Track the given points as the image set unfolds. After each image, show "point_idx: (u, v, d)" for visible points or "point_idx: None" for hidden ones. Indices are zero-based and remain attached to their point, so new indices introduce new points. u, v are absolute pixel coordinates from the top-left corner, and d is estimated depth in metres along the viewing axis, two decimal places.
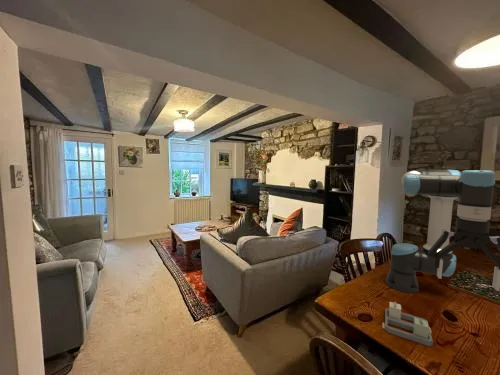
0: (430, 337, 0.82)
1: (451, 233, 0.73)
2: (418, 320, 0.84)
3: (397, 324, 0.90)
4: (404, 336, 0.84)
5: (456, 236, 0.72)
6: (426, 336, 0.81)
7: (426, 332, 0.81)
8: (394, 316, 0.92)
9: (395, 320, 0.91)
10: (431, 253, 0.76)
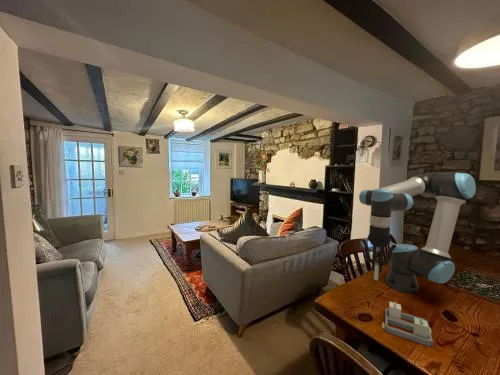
0: (430, 337, 0.82)
1: (366, 239, 0.97)
2: (418, 320, 0.84)
3: (397, 324, 0.90)
4: (404, 336, 0.84)
5: (369, 239, 0.96)
6: (426, 336, 0.81)
7: (426, 332, 0.81)
8: (394, 316, 0.92)
9: (395, 320, 0.91)
10: (368, 260, 0.96)
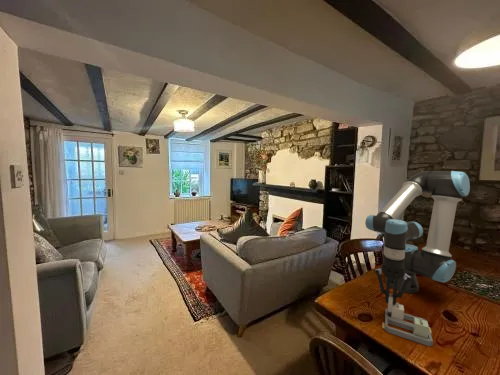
0: (430, 337, 0.82)
1: (380, 270, 0.95)
2: (418, 320, 0.84)
3: (397, 324, 0.90)
4: (404, 336, 0.84)
5: (383, 270, 0.94)
6: (426, 336, 0.81)
7: (426, 332, 0.81)
8: (397, 317, 0.92)
9: (395, 320, 0.91)
10: (381, 291, 0.95)
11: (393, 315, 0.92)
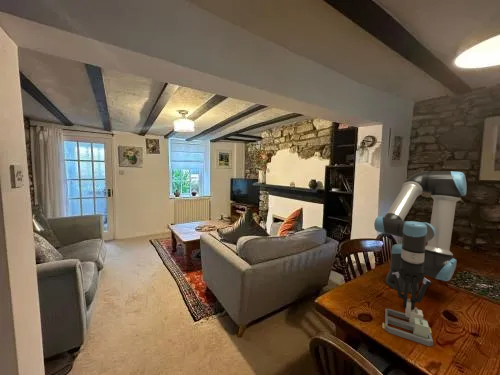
0: (430, 337, 0.82)
1: (397, 273, 0.92)
2: (418, 320, 0.84)
3: (397, 324, 0.90)
4: (404, 336, 0.84)
5: (401, 274, 0.91)
6: (426, 336, 0.81)
7: (426, 332, 0.81)
8: None
9: (395, 320, 0.91)
10: (399, 296, 0.91)
11: (411, 321, 0.89)
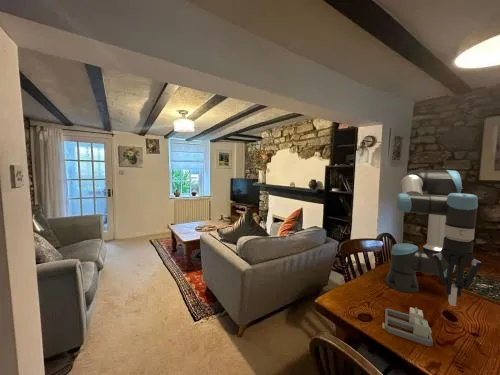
0: (430, 337, 0.82)
1: (439, 254, 0.79)
2: (418, 320, 0.84)
3: (397, 324, 0.90)
4: (404, 336, 0.84)
5: (444, 255, 0.78)
6: (426, 336, 0.81)
7: (426, 332, 0.81)
8: None
9: (395, 320, 0.91)
10: (442, 280, 0.78)
11: (411, 321, 0.89)
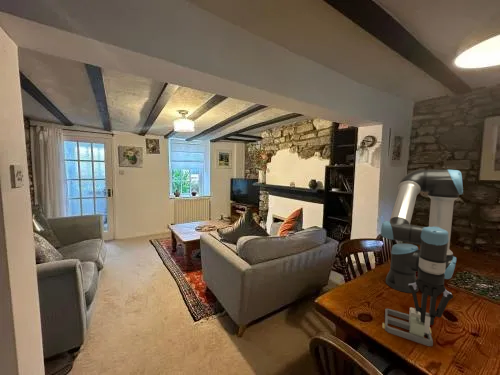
0: (430, 337, 0.82)
1: (414, 284, 0.83)
2: (414, 319, 0.85)
3: (397, 324, 0.90)
4: (404, 336, 0.84)
5: (419, 285, 0.82)
6: (422, 335, 0.82)
7: (422, 331, 0.82)
8: None
9: (395, 320, 0.91)
10: (417, 309, 0.83)
11: None
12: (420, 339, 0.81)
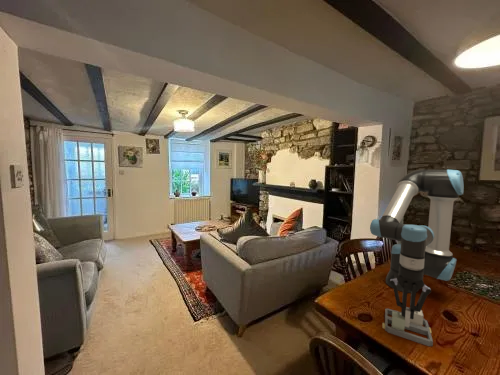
0: (430, 337, 0.82)
1: (395, 280, 0.86)
2: (395, 313, 0.88)
3: None
4: (404, 336, 0.84)
5: (399, 281, 0.85)
6: (403, 328, 0.85)
7: (403, 325, 0.85)
8: (415, 322, 0.89)
9: None
10: (397, 304, 0.86)
11: (411, 321, 0.89)
12: (420, 339, 0.81)
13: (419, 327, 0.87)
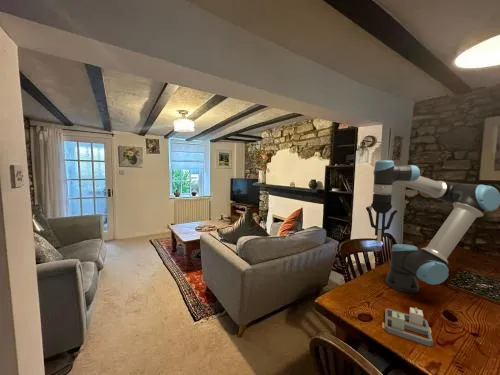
0: (430, 337, 0.82)
1: (370, 206, 1.07)
2: (395, 313, 0.88)
3: None
4: (404, 336, 0.84)
5: (373, 206, 1.05)
6: (402, 328, 0.85)
7: (402, 325, 0.85)
8: (415, 322, 0.89)
9: None
10: (371, 225, 1.06)
11: (411, 321, 0.89)
12: (420, 339, 0.81)
13: (419, 327, 0.87)
